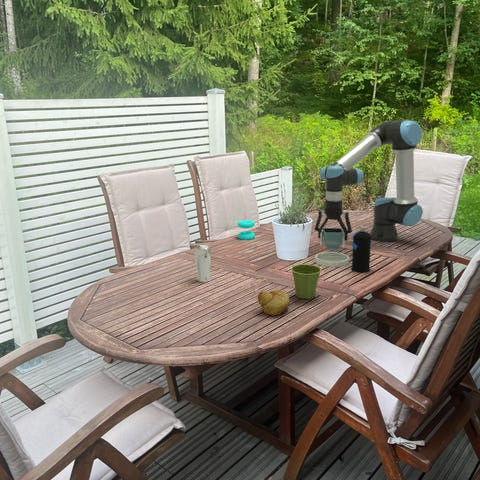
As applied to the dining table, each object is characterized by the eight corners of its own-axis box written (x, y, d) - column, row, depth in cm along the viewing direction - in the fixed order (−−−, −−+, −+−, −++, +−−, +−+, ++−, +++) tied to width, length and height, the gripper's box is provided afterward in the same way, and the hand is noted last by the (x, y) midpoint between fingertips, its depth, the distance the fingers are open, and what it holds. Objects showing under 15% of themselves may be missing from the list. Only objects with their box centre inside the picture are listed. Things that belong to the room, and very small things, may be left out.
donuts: (258, 221, 254) (245, 224, 247) (258, 237, 256) (246, 241, 250) (246, 218, 261) (233, 221, 254) (246, 234, 263) (234, 238, 257)
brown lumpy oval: (277, 301, 169) (277, 281, 167) (297, 308, 162) (298, 287, 160) (255, 312, 160) (254, 291, 158) (276, 319, 153) (275, 298, 151)
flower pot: (340, 245, 214) (341, 227, 212) (342, 251, 206) (343, 232, 203) (322, 245, 215) (322, 227, 213) (323, 250, 207) (324, 232, 204)
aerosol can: (371, 267, 202) (373, 225, 196) (368, 273, 195) (370, 229, 189) (353, 265, 205) (355, 224, 200) (349, 271, 198) (351, 228, 193)
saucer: (340, 255, 221) (341, 250, 220) (354, 265, 206) (354, 260, 205) (310, 257, 218) (310, 253, 218) (322, 268, 203) (322, 263, 203)
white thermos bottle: (214, 277, 195) (212, 245, 191) (208, 283, 188) (206, 249, 184) (200, 276, 197) (198, 244, 193) (193, 281, 191) (191, 248, 187)
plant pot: (313, 304, 165) (314, 276, 162) (285, 298, 171) (285, 271, 168) (325, 293, 174) (326, 266, 171) (298, 288, 180) (298, 262, 177)
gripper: (308, 200, 205) (307, 245, 211) (357, 202, 196) (355, 250, 202) (312, 197, 212) (311, 241, 218) (360, 199, 203) (357, 245, 209)
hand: (332, 245), depth 210 cm, fingers closed on flower pot, 10 cm apart
